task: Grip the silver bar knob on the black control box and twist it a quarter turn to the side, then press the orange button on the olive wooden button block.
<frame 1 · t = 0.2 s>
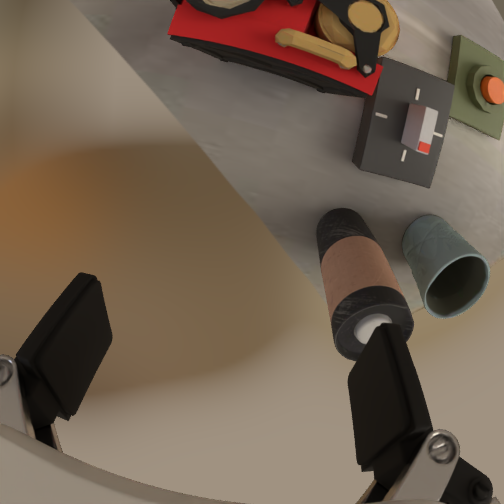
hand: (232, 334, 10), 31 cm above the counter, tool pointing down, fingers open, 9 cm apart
travel mug: (340, 230, 41), on the counter
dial: (419, 127, 27), point 6 cm above the counter, hinge at 0.0°
red coffee machine: (283, 39, 29), on the counter
teal embossed cup: (425, 240, 41), on the counter
button: (493, 90, 24), point 4 cm above the counter, slide at 0.1 cm
button block: (475, 87, 28), on the counter
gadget: (398, 120, 32), on the counter
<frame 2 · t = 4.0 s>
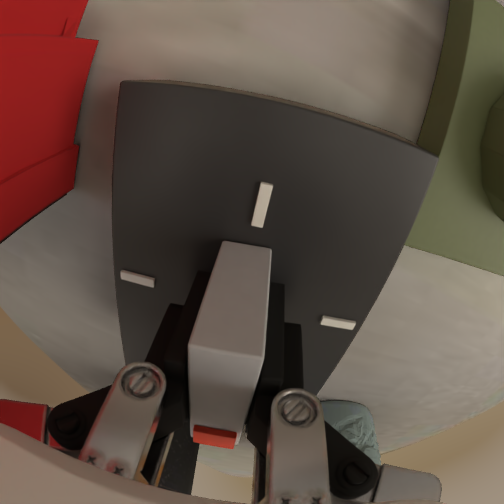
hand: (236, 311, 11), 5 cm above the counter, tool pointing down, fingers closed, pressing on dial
travel mug: (165, 401, 23), on the counter
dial: (228, 351, 9), point 6 cm above the counter, hinge at 3.7°, touching gripper
red coffee machine: (3, 84, 11), on the counter
teal embossed cup: (323, 423, 23), on the counter
button block: (502, 145, 10), on the counter
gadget: (248, 247, 14), on the counter
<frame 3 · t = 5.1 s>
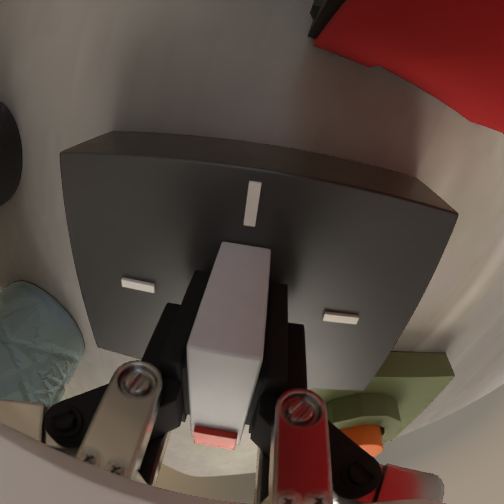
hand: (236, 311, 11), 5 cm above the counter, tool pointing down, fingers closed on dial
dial: (229, 352, 9), point 6 cm above the counter, hinge at 89.9°, touching gripper
teal embossed cup: (42, 320, 20), on the counter
button: (355, 443, 16), point 4 cm above the counter, slide at 0.1 cm
button block: (349, 392, 20), on the counter
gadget: (249, 247, 14), on the counter
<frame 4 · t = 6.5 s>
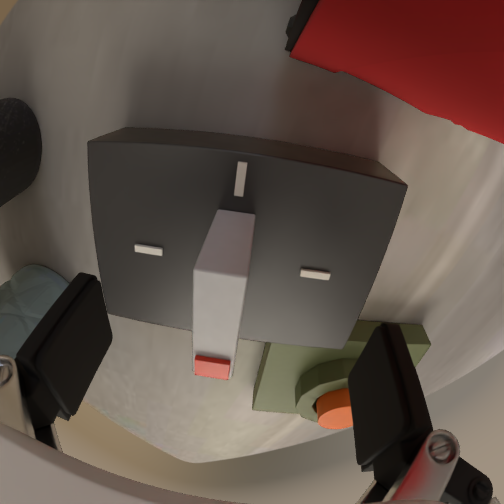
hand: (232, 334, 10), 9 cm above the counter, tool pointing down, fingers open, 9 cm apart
travel mug: (11, 145, 15), on the counter
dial: (223, 294, 12), point 6 cm above the counter, hinge at 89.9°
teal embossed cup: (50, 302, 22), on the counter
button: (341, 408, 19), point 4 cm above the counter, slide at 0.1 cm
button block: (334, 363, 23), on the counter
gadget: (239, 223, 17), on the counter
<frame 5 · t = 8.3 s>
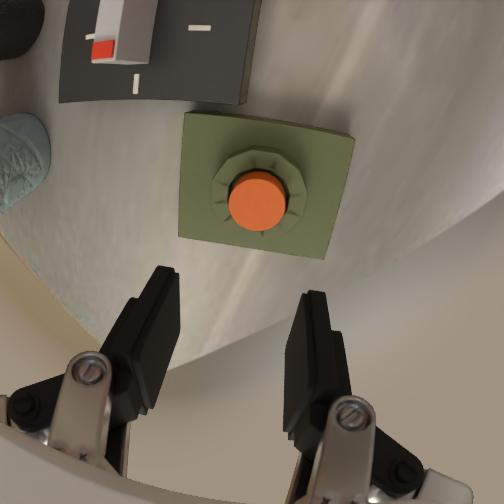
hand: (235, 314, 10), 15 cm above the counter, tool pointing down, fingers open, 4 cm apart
travel mug: (22, 27, 16), on the counter
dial: (126, 24, 12), point 6 cm above the counter, hinge at 89.9°
teal embossed cup: (24, 151, 23), on the counter
button: (257, 200, 20), point 4 cm above the counter, slide at 0.1 cm
button block: (261, 180, 24), on the counter
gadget: (164, 37, 18), on the counter
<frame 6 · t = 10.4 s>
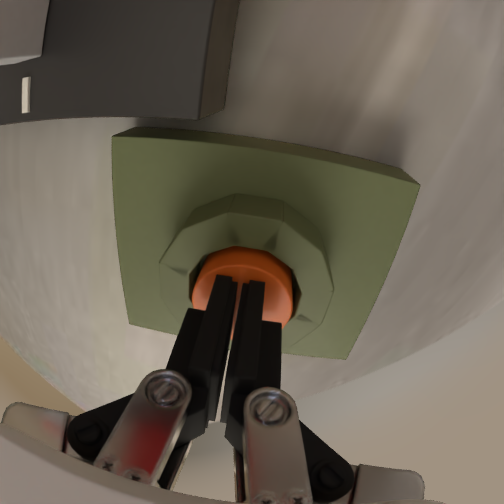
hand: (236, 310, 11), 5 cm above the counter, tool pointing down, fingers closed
button: (243, 292, 11), point 4 cm above the counter, slide at -0.6 cm, touching gripper
button block: (253, 243, 15), on the counter
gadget: (92, 11, 9), on the counter
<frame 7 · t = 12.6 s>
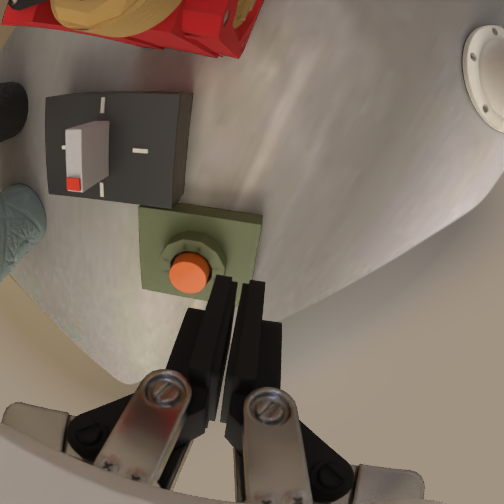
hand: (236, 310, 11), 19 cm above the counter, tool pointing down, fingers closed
travel mug: (11, 109, 24), on the counter
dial: (87, 154, 21), point 6 cm above the counter, hinge at 89.9°
teal embossed cup: (24, 213, 31), on the counter
button: (189, 273, 28), point 4 cm above the counter, slide at 0.1 cm
button block: (199, 249, 32), on the counter
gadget: (121, 139, 26), on the counter
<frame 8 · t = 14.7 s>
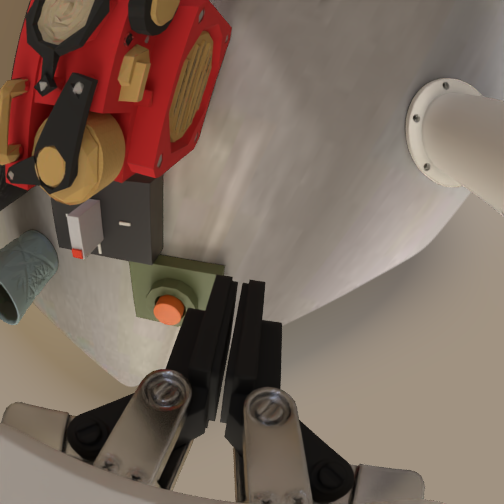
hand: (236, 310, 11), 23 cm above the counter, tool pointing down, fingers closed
travel mug: (20, 169, 33), on the counter
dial: (85, 228, 29), point 6 cm above the counter, hinge at 89.9°
red coffee machine: (171, 74, 26), on the counter
teal embossed cup: (39, 252, 40), on the counter
button: (168, 310, 36), point 4 cm above the counter, slide at 0.1 cm
button block: (178, 288, 40), on the counter
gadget: (112, 205, 35), on the counter
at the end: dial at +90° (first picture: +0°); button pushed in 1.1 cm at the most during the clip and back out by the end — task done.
